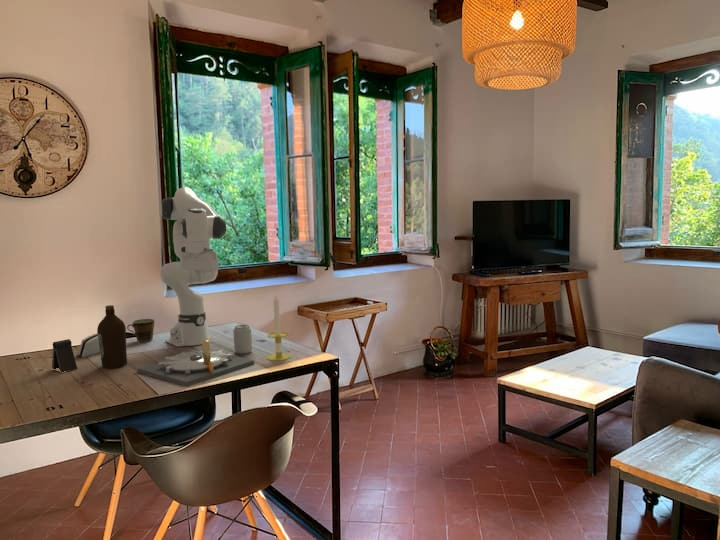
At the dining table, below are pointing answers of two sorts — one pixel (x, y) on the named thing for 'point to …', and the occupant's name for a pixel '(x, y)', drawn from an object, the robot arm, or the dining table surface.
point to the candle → (278, 336)
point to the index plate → (194, 376)
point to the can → (242, 339)
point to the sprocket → (195, 360)
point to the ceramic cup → (143, 329)
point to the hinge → (89, 346)
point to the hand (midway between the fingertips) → (201, 281)
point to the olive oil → (112, 340)
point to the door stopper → (63, 356)
